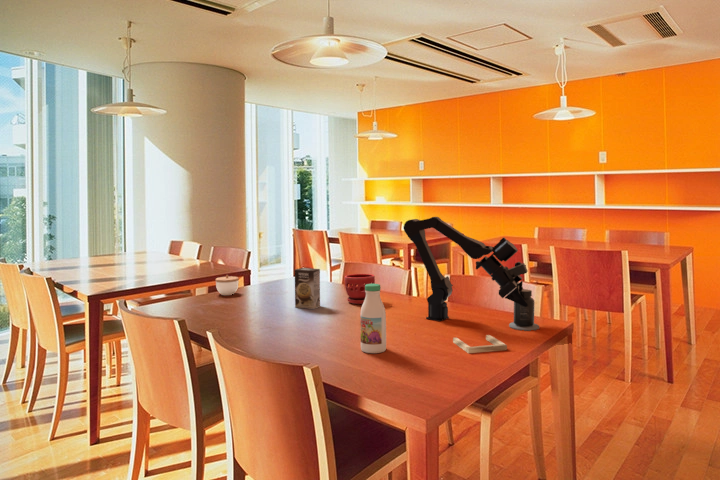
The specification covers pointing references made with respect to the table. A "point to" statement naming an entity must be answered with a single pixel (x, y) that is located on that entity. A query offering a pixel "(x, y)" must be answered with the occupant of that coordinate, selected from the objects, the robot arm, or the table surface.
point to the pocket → (496, 347)
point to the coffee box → (307, 288)
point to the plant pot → (357, 287)
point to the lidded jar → (227, 285)
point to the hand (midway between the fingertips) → (528, 303)
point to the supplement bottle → (524, 310)
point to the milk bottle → (373, 321)
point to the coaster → (524, 327)
